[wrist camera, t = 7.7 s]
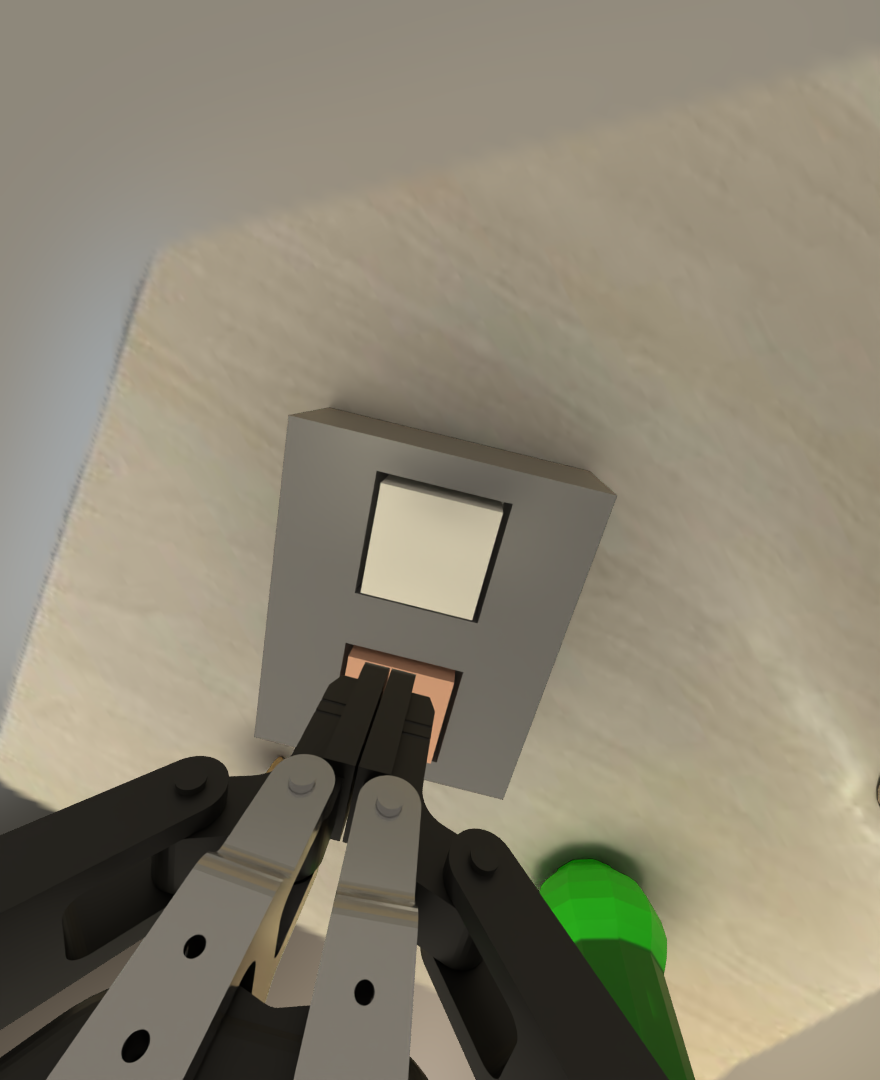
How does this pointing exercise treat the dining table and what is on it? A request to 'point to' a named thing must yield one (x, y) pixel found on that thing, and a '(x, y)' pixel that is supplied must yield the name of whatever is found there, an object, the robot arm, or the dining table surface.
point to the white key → (430, 546)
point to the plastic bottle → (622, 951)
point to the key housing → (412, 632)
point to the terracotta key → (427, 682)
